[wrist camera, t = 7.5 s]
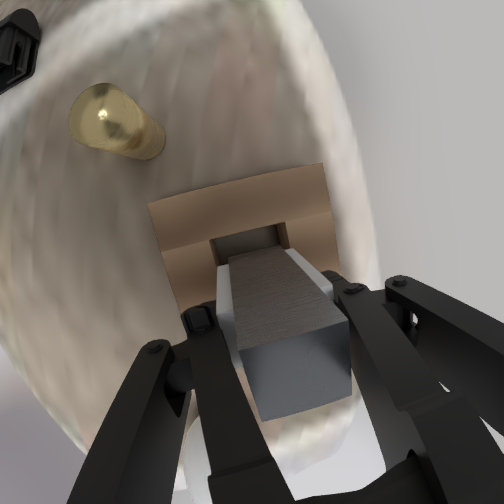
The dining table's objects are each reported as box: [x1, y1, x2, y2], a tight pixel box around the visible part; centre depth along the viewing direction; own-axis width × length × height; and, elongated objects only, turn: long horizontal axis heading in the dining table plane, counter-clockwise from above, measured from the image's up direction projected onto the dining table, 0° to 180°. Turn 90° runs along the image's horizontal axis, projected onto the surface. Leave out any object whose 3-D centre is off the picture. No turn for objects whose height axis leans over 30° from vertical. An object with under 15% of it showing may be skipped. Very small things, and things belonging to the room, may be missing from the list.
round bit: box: [69, 83, 166, 160], centre depth 15 cm, size 3×3×10 cm
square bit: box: [228, 245, 352, 422], centre depth 13 cm, size 3×3×10 cm
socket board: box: [147, 163, 341, 313], centre depth 21 cm, size 12×12×4 cm
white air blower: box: [183, 416, 212, 504], centre depth 18 cm, size 8×8×18 cm
